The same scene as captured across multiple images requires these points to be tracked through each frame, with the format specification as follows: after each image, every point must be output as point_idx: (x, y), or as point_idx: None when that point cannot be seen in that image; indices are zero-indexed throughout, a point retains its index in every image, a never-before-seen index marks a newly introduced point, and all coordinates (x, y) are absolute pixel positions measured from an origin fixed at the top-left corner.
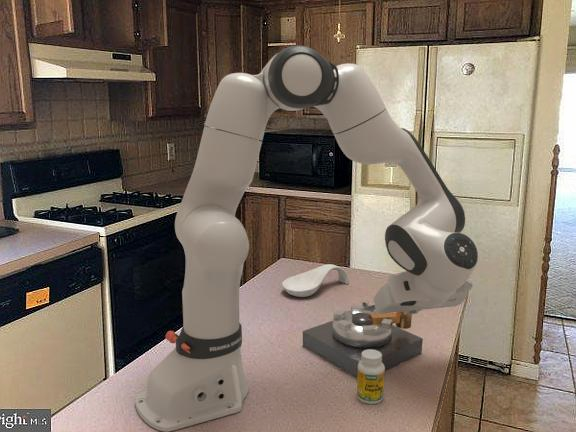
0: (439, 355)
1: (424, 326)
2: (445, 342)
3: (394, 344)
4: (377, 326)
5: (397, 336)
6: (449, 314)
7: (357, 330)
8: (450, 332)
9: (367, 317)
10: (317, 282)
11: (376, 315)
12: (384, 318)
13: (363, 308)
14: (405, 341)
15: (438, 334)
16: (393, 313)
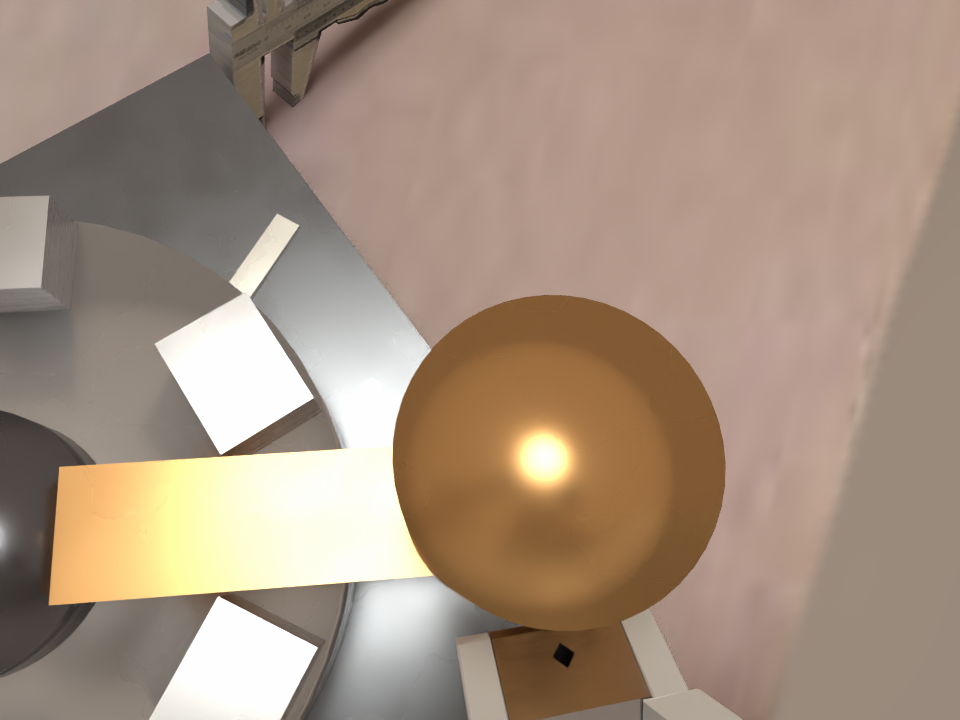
0: (742, 647)
1: (723, 175)
2: (828, 430)
3: None
4: (127, 688)
5: (411, 594)
6: (934, 9)
7: None
8: (894, 274)
9: (6, 555)
10: None
11: (129, 530)
12: (221, 601)
13: (228, 33)
14: (463, 706)
15: (801, 302)
16: (374, 469)
